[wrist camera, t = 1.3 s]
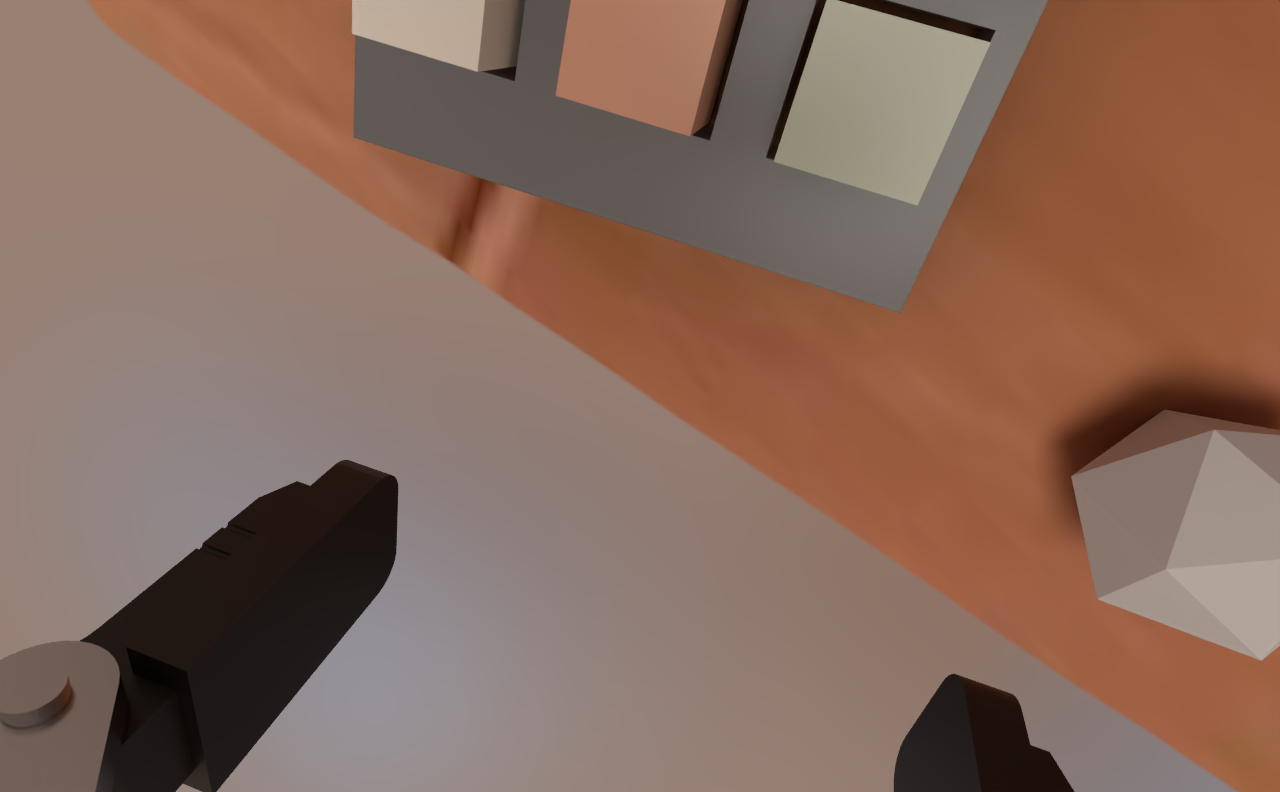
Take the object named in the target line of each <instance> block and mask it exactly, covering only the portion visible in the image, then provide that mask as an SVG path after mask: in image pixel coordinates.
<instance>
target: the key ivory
mask: <svg viewBox="0 0 1280 792" xmlns="http://www.w3.org/2000/svg"><path fill="white" fill-rule="evenodd" d="M524 7H525V0H352V34H355V35H358V36H361V37H364V38H368V39H371V40H374V41H378V42H381V43H384V44H388V45H391V46H394V47H397V48H401V49H404V50H407V51H411V52H414V53H417V54H420V55H424V56H427V57H430V58H434V59H437V60H440V61H443V62H447V63H450V64H453V65H457V66H460V67H463V68H466V69H470V70H473V71H476V72H480V71H487V70H494V69H501V68H508V67H515V66H517V61H518V53H519V45H520V38H521V30H522V22H523V15H524Z"/></svg>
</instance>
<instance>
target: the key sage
mask: <svg viewBox="0 0 1280 792" xmlns="http://www.w3.org/2000/svg"><path fill="white" fill-rule="evenodd" d="M990 43H991V42H987V41H983V40H980V39H976V38H972V37H969V36H965V35H962V34H958V33H954V32H951V31H947V30H944V29H940V28H936V27H933V26H929V25H925V24H922V23H918V22H915V21H911V20H907V19H904V18H900V17H896V16H893V15H889V14H886V13H882V12H878V11H875V10H871V9H867V8H864V7H860V6H857V5H853V4H849V3H846V2H842V1H839V0H826V4H825V7H824V10H823V13H822V16H821V19H820V22H819V25H818V28H817V31H816V34H815V37H814V40H813V43H812V46H811V49H810V52H809V55H808V58H807V61H806V64H805V67H804V70H803V74H802V77H801V80H800V83H799V86H798V89H797V92H796V95H795V98H794V101H793V104H792V107H791V110H790V113H789V116H788V119H787V122H786V125H785V128H784V131H783V134H782V137H781V140H780V143H779V147H778V150H777V153H776V156H775V159H774V162H776V163H779V164H782V165H786V166H789V167H792V168H795V169H799V170H802V171H805V172H809V173H812V174H815V175H818V176H822V177H825V178H828V179H832V180H835V181H838V182H842V183H845V184H848V185H851V186H855V187H858V188H861V189H865V190H868V191H871V192H874V193H878V194H881V195H884V196H888V197H891V198H894V199H897V200H901V201H904V202H907V203H911V204H914V205H917V206H918V204H919V201H920V199H921V197H922V195H923V192H924V190H925V188H926V186H927V184H928V181H929V179H930V177H931V175H932V172H933V170H934V168H935V166H936V163H937V161H938V159H939V157H940V155H941V152H942V150H943V148H944V146H945V143H946V141H947V139H948V137H949V135H950V132H951V130H952V128H953V126H954V123H955V121H956V119H957V117H958V114H959V112H960V110H961V108H962V106H963V103H964V101H965V99H966V97H967V94H968V92H969V90H970V88H971V86H972V83H973V81H974V79H975V77H976V74H977V72H978V70H979V68H980V65H981V63H982V61H983V59H984V57H985V54H986V52H987V50H988V48H989V45H990Z"/></svg>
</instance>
